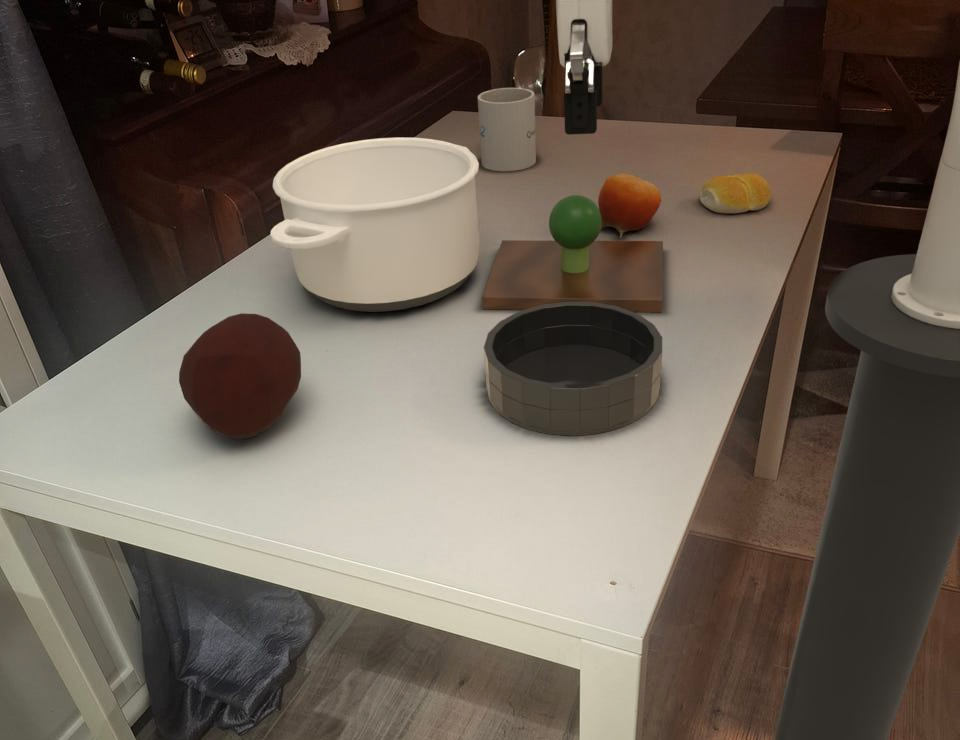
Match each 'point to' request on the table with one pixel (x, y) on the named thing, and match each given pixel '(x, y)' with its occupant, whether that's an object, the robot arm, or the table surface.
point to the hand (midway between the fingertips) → (584, 118)
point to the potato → (241, 375)
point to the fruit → (627, 202)
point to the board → (576, 276)
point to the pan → (573, 368)
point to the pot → (380, 221)
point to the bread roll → (735, 193)
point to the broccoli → (575, 230)
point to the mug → (507, 129)
